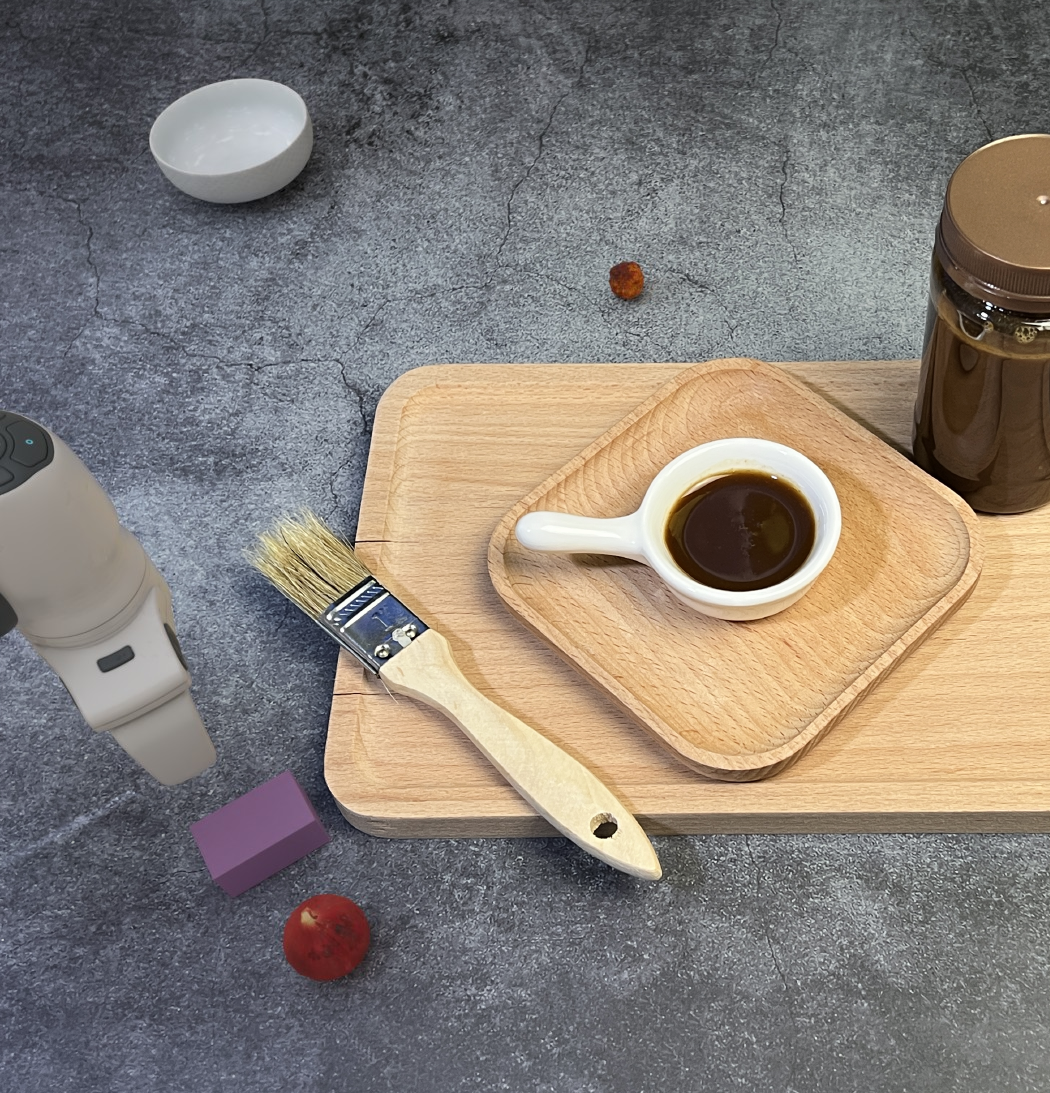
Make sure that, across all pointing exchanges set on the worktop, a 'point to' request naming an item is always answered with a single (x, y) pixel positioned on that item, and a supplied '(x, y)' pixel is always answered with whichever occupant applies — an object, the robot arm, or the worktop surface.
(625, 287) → the meatball
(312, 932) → the red rounded lump
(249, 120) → the cereal bowl
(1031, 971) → the worktop surface
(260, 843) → the block
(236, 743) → the worktop surface
